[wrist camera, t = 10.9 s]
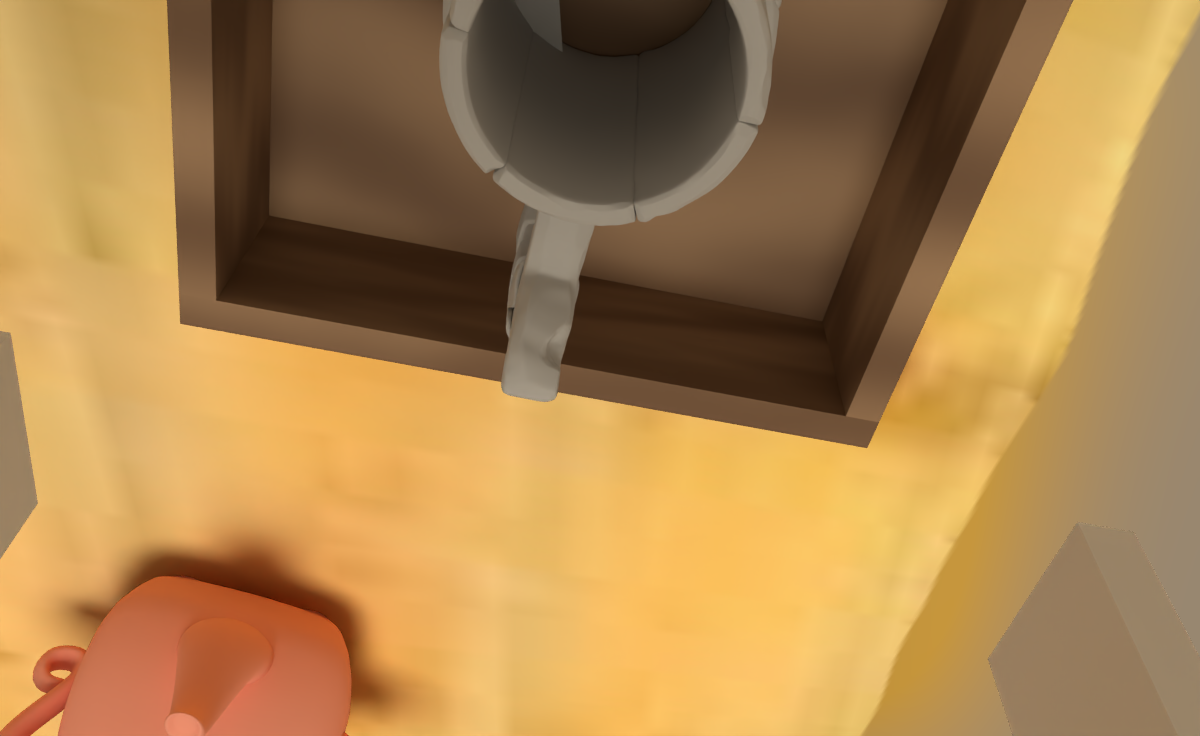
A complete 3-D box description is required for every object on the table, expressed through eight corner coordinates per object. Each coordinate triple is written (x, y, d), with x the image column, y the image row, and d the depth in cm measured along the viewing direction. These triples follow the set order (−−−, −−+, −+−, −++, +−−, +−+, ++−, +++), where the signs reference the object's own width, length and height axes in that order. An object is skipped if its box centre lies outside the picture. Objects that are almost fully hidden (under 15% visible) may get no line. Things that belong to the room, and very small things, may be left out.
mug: (806, -173, 26) (901, -43, 16) (670, 235, 33) (681, 498, 23) (503, -262, 25) (413, -181, 15) (428, 176, 32) (333, 425, 22)
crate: (248, -472, 24) (146, -492, 19) (1091, -263, 26) (1195, -234, 21) (246, 222, 34) (180, 323, 29) (845, 336, 36) (876, 450, 31)
